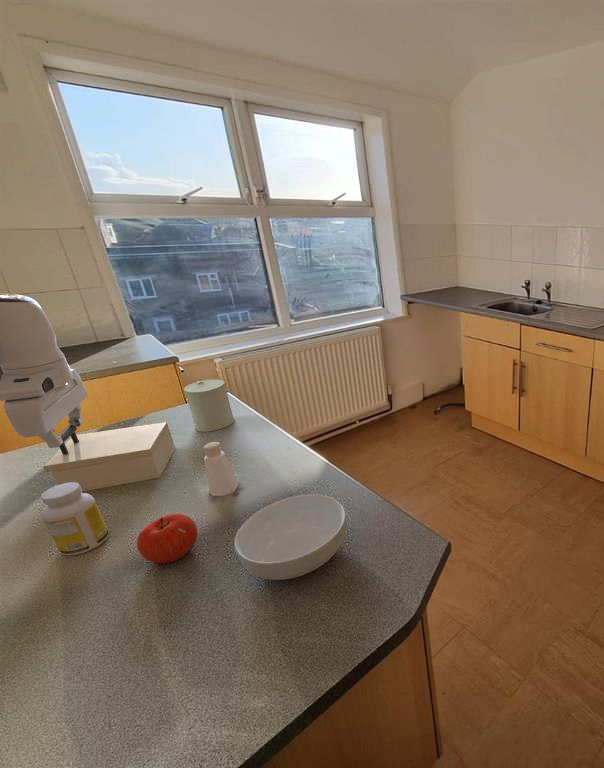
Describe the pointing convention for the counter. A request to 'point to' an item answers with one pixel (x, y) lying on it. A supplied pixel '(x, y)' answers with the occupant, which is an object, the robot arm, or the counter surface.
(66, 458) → the box lid
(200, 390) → the can
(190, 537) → the apple
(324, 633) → the counter surface
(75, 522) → the pill bottle
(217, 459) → the salt shaker
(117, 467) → the cream open box
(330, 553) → the cereal bowl
